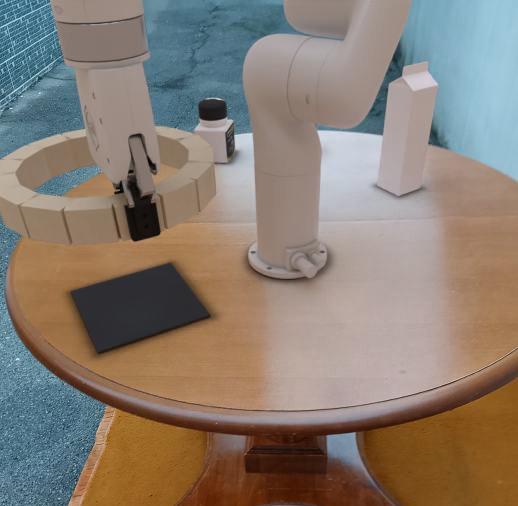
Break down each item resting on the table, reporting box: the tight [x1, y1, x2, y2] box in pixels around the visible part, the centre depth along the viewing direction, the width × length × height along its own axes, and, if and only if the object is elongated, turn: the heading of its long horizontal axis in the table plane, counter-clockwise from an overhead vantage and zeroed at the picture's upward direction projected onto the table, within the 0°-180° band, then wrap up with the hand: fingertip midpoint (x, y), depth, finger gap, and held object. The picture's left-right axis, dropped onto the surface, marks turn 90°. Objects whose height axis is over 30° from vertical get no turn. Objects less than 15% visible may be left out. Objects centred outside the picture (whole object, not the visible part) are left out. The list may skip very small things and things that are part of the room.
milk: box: [376, 61, 439, 197], centre depth 98 cm, size 6×6×22 cm
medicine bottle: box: [193, 97, 236, 164], centre depth 116 cm, size 7×7×12 cm
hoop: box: [0, 125, 217, 246], centre depth 65 cm, size 26×26×4 cm
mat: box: [70, 262, 211, 355], centre depth 78 cm, size 16×16×1 cm
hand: (140, 228), depth 59 cm, fingers closed on hoop, 3 cm apart
